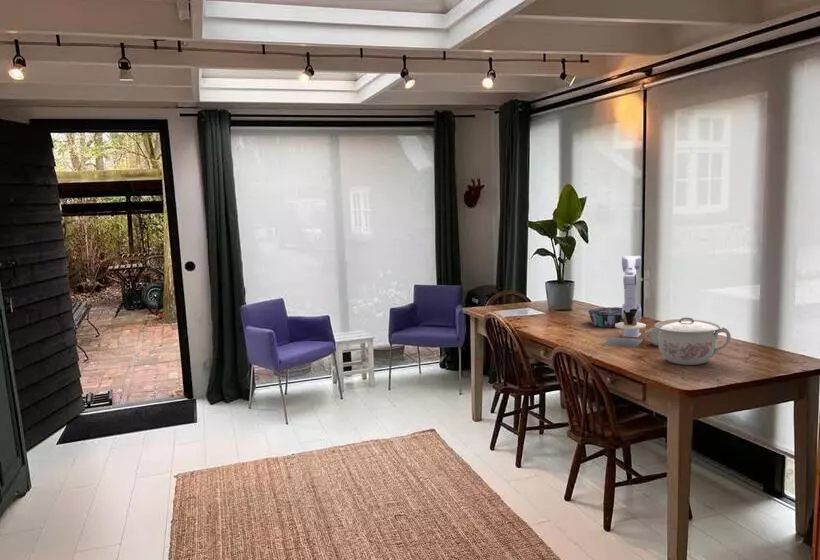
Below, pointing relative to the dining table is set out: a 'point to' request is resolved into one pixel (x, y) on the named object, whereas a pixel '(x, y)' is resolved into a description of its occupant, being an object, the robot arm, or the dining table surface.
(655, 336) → the teacup
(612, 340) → the mat
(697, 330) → the chamber pot
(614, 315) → the decorative bowl
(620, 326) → the lid
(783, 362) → the dining table surface
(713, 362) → the dining table surface
